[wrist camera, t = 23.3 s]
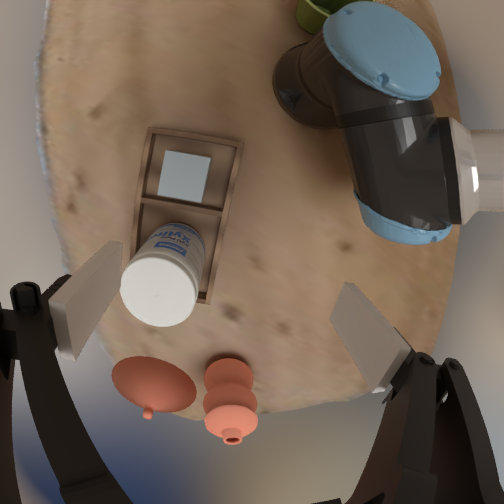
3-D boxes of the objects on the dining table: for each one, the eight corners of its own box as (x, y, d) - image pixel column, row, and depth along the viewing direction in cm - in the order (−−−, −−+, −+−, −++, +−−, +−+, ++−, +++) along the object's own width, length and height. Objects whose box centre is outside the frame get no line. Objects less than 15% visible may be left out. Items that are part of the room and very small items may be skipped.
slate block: (166, 188, 39) (157, 194, 34) (173, 150, 37) (165, 150, 32) (204, 195, 40) (201, 202, 35) (212, 157, 38) (210, 158, 33)
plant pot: (267, 7, 30) (280, -28, 20) (321, -9, 29) (344, -38, 19) (307, 57, 34) (332, 31, 24) (358, 38, 33) (391, 16, 23)
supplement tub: (194, 213, 41) (181, 244, 27) (213, 267, 45) (210, 318, 31) (139, 231, 41) (105, 269, 27) (160, 282, 45) (139, 334, 31)
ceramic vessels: (144, 416, 59) (134, 473, 41) (95, 365, 51) (69, 426, 34) (266, 387, 58) (279, 454, 40) (229, 324, 50) (234, 401, 32)
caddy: (154, 128, 36) (148, 127, 33) (242, 143, 39) (244, 143, 36) (134, 280, 45) (128, 289, 42) (210, 294, 47) (209, 304, 44)
